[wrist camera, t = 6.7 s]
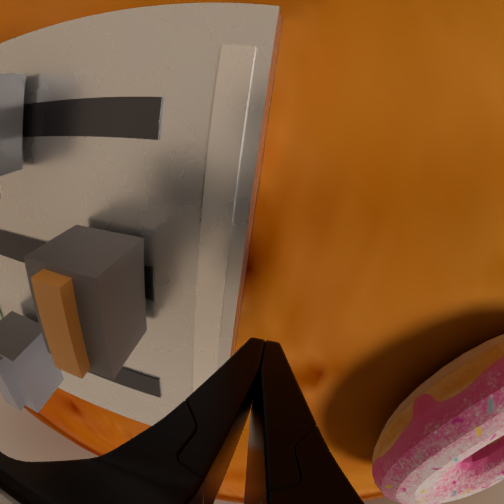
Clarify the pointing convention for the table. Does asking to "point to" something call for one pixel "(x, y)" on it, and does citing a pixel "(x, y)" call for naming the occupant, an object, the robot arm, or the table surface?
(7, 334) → the breaker
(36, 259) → the breaker
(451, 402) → the donut
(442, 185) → the table surface
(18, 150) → the block
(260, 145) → the panel
